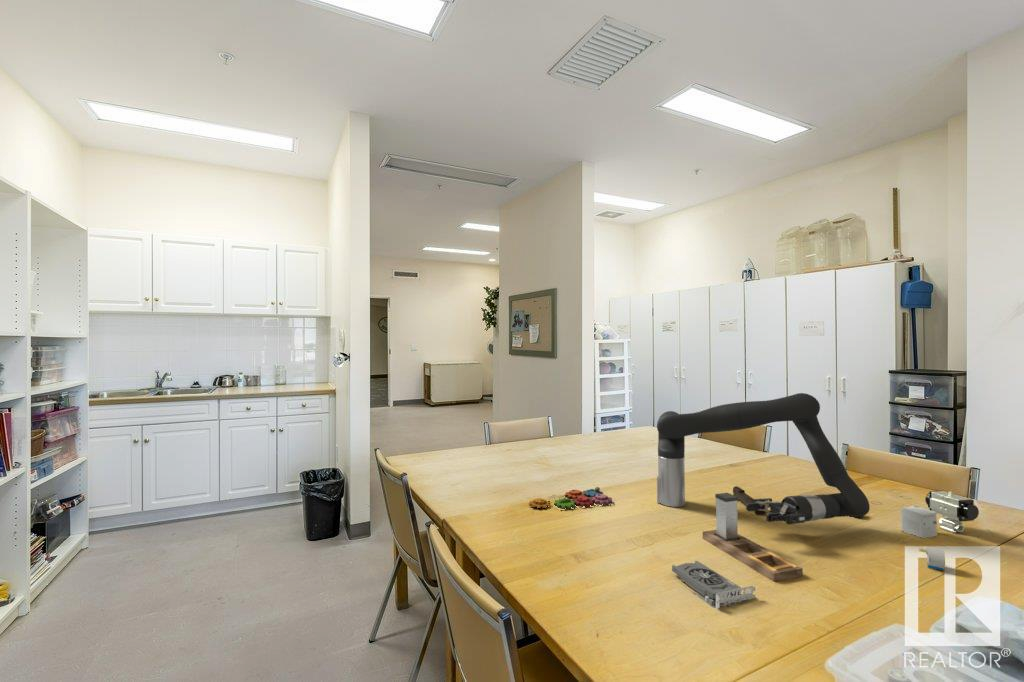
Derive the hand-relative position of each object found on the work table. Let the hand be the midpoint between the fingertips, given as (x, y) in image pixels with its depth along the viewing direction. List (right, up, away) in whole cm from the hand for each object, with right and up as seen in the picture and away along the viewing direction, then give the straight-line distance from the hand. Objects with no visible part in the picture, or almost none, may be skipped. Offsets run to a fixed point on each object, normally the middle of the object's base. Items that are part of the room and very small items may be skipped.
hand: (756, 512), depth 136 cm
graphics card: (-25, -9, -25) cm, 37 cm away
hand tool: (+11, -9, +29) cm, 32 cm away
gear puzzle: (-52, -10, +34) cm, 63 cm away
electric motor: (+36, -8, -17) cm, 41 cm away
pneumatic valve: (+62, -8, +5) cm, 63 cm away
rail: (-8, -8, -10) cm, 15 cm away
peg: (-10, -8, -2) cm, 13 cm away
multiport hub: (+39, -8, +22) cm, 45 cm away
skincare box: (+51, -8, +3) cm, 52 cm away
